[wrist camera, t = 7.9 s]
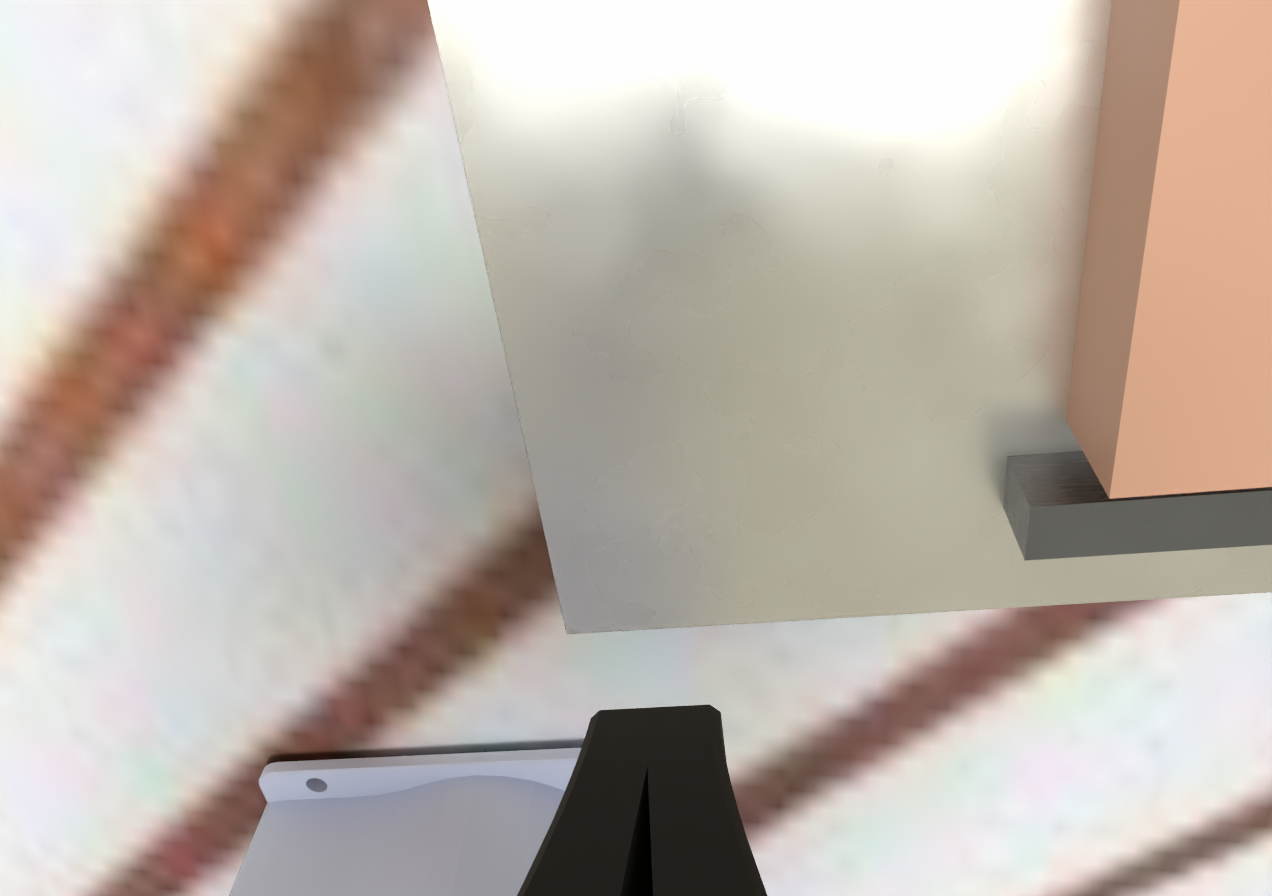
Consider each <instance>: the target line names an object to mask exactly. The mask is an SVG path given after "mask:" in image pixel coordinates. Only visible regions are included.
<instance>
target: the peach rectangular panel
mask: <svg viewBox="0 0 1272 896" xmlns="http://www.w3.org/2000/svg"><path fill="white" fill-rule="evenodd" d="M1066 421H1067V423H1068V425H1069V427H1070V429H1071V430H1072V432H1073V434H1074V436H1075V438H1076V439H1077V441H1078V443H1079V445H1080V447H1081V449H1082V450H1083V452H1084V454H1085V456H1086V458H1087V459H1088V461H1089V463H1090V465H1091V467H1092V468H1093V470H1094V472H1095V474H1096V476H1097V477H1098V479H1099V481H1100V483H1101V485H1102V486H1103V488H1104V490H1105V492H1106V494H1107V495H1108V497H1109V499H1113V498H1126V497H1140V496H1154V495H1167V494H1181V493H1195V492H1208V491H1222V490H1236V489H1249V488H1263V487H1272V0H1112V5H1111V14H1110V23H1109V32H1108V42H1107V51H1106V60H1105V69H1104V78H1103V88H1102V97H1101V106H1100V115H1099V125H1098V134H1097V143H1096V152H1095V161H1094V171H1093V180H1092V189H1091V198H1090V208H1089V217H1088V226H1087V235H1086V244H1085V254H1084V263H1083V272H1082V281H1081V291H1080V300H1079V309H1078V318H1077V327H1076V337H1075V346H1074V355H1073V364H1072V374H1071V383H1070V392H1069V401H1068V410H1067V420H1066Z"/></svg>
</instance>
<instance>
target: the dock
mask: <svg viewBox="0 0 1272 896" xmlns="http://www.w3.org/2000/svg"><path fill="white" fill-rule="evenodd" d="M428 4H429V9H430V14H431V18H432V23H433V27H434V32H435V36H436V41H437V46H438V50H439V55H440V59H441V64H442V68H443V73H444V77H445V82H446V87H447V91H448V96H449V100H450V105H451V109H452V114H453V118H454V123H455V128H456V132H457V137H458V141H459V146H460V150H461V155H462V159H463V164H464V169H465V173H466V178H467V182H468V187H469V191H470V196H471V201H472V205H473V210H474V214H475V219H476V223H477V228H478V232H479V237H480V242H481V246H482V251H483V255H484V260H485V264H486V269H487V273H488V278H489V283H490V287H491V292H492V296H493V301H494V305H495V310H496V315H497V319H498V324H499V328H500V333H501V337H502V342H503V346H504V351H505V356H506V360H507V365H508V369H509V374H510V378H511V383H512V387H513V392H514V397H515V401H516V406H517V410H518V415H519V419H520V424H521V428H522V433H523V438H524V442H525V447H526V451H527V456H528V460H529V465H530V470H531V474H532V479H533V483H534V488H535V492H536V497H537V501H538V506H539V511H540V515H541V520H542V524H543V529H544V533H545V538H546V542H547V547H548V552H549V556H550V561H551V565H552V570H553V574H554V579H555V584H556V588H557V593H558V597H559V602H560V606H561V611H562V615H563V620H564V625H565V629H566V634H578V633H595V632H612V631H629V630H645V629H662V628H679V627H696V626H712V625H729V624H746V623H763V622H779V621H796V620H813V619H830V618H846V617H863V616H880V615H897V614H913V613H930V612H947V611H964V610H981V609H997V608H1014V607H1031V606H1048V605H1064V604H1081V603H1098V602H1115V601H1131V600H1148V599H1165V598H1182V597H1198V596H1215V595H1232V594H1249V593H1265V592H1272V487H1263V488H1249V489H1236V490H1222V491H1208V492H1195V493H1181V494H1167V495H1154V496H1140V497H1126V498H1113V499H1109V497H1108V495H1107V494H1106V492H1105V490H1104V488H1103V486H1102V485H1101V483H1100V481H1099V479H1098V477H1097V476H1096V474H1095V472H1094V470H1093V468H1092V467H1091V465H1090V463H1089V461H1088V459H1087V458H1086V456H1085V454H1084V452H1083V450H1082V449H1081V447H1080V445H1079V443H1078V441H1077V439H1076V438H1075V436H1074V434H1073V432H1072V430H1071V429H1070V427H1069V425H1068V423H1067V421H1066V420H1067V410H1068V401H1069V392H1070V383H1071V374H1072V364H1073V355H1074V346H1075V337H1076V327H1077V318H1078V309H1079V300H1080V291H1081V281H1082V272H1083V263H1084V254H1085V244H1086V235H1087V226H1088V217H1089V208H1090V198H1091V189H1092V180H1093V171H1094V161H1095V152H1096V143H1097V134H1098V125H1099V115H1100V106H1101V97H1102V88H1103V78H1104V69H1105V60H1106V51H1107V42H1108V32H1109V23H1110V14H1111V5H1112V0H428Z"/></svg>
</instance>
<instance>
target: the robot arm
mask: <svg viewBox="0 0 1272 896" xmlns="http://www.w3.org/2000/svg"><path fill="white" fill-rule="evenodd" d="M259 786H260V788H261V790H262V792H263V794H264V796H265V799H266V801H267V805H266V807H265V810H264V812H263V815H262V817H261V819H260V822H259V824H258V827H257V829H256V832H255V834H254V836H253V839H252V841H251V844H250V846H249V848H248V851H247V853H246V856H245V858H244V861H243V863H242V865H241V868H240V870H239V873H238V875H237V878H236V880H235V882H234V885H233V887H232V890H231V892H230V895H229V896H767V894H766V891H765V888H764V885H763V882H762V880H761V877H760V874H759V871H758V868H757V866H756V863H755V860H754V857H753V854H752V851H751V849H750V846H749V843H748V840H747V837H746V834H745V831H744V828H743V824H742V821H741V818H740V815H739V811H738V808H737V804H736V800H735V797H734V793H733V789H732V785H731V782H730V777H729V773H728V768H727V764H726V755H725V746H724V738H723V729H722V720H721V712H720V711H718V710H717V709H715V708H714V707H712V706H711V705H695V706H675V707H656V708H636V709H617V710H600V711H599V712H597V713H596V714H595V715H594V716H593V717H592V718H591V720H590V723H589V727H588V730H587V733H586V736H585V739H584V742H583V745H582V748H561V749H540V750H519V751H498V752H477V753H456V754H434V755H413V756H392V757H371V758H350V759H329V760H308V761H287V762H275V763H270V764H268V765H267V766H265V767H264V770H263V772H262V774H261V776H260V779H259Z"/></svg>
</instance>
